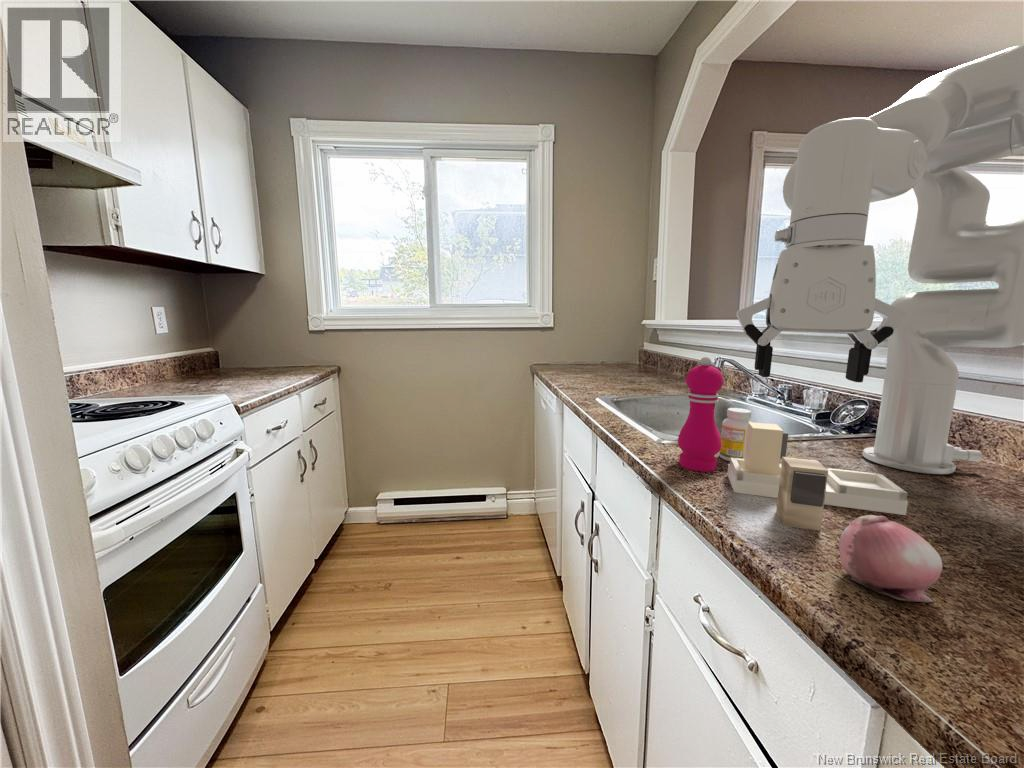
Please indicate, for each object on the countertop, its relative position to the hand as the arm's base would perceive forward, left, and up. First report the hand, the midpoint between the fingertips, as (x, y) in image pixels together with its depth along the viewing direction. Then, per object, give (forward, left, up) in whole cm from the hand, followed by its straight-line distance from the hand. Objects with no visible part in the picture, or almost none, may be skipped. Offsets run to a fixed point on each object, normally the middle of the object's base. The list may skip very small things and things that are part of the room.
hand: (807, 378), depth 52 cm
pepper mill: (+10, -18, -19) cm, 28 cm away
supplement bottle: (+3, -25, -19) cm, 32 cm away
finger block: (-1, 0, -19) cm, 19 cm away
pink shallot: (-5, +13, -19) cm, 24 cm away
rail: (-5, -11, -19) cm, 22 cm away
